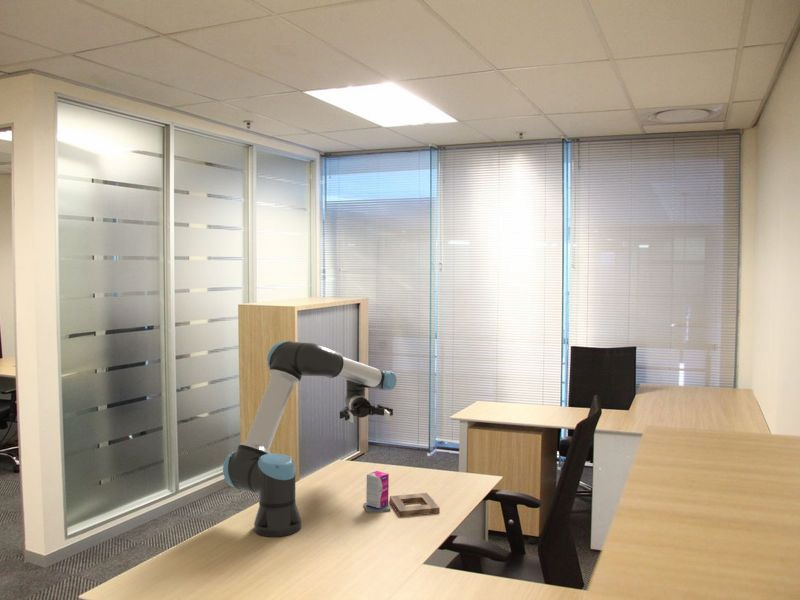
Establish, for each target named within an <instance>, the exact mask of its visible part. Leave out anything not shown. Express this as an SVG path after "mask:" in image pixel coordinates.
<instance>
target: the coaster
mask: <svg viewBox="0 0 800 600" xmlns="http://www.w3.org/2000/svg"><path fill="white" fill-rule="evenodd" d="M363 507H364V509H365V508H366V509H365V511H366V510H367V511H366V513H367V512H368V513H367V514H370V513H369V512H375V513H382V512H381V511H386V512H391V507H390V506H389V504H388V505H387V506H385V507H382V508H380V509H375V508H371V507H367V506H366V502H364V503H363Z"/></svg>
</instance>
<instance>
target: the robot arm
mask: <svg viewBox="0 0 800 600" xmlns="http://www.w3.org/2000/svg"><path fill="white" fill-rule="evenodd" d="M266 359H267V366H268V375H269V376H270V378H269V381H268V384H267V387H266V388H265V391H264V394H263V396H262V398H261V401H260V404H259V406H258V409H257V411H256V413H255V416H254V419H253V421H252V423H251V426H250V428H249V431H248V433H247V437H246V439H245V441H243V442H241V443H239V444H238V446H237V448H236V451H232V452H231V453H229V454H228V455H227V456H226V458H225V460H224V461H223V465H222V466H223V467H222V475H223V476H224V481H225V482H226V484H228V485H229V486H230V487H233V488H236V489H237V490H243V491H247V492H251V493H255V494H258V500H259V501H258V502H259V503H258V504H259V505H258V510H257V513H256V515H255V519H254V523H253V525H254V527H253V529H254V532H255V533H256V534H257V535H260V536H263V537H270V538H271V537H272V538H275V537H285V536H289V535H292V534H295V533H297V532H298V531H300V530H301V529H302V517H301V516H300V513H299V510H298V507H297V504H296V473H297V472H296V467H295V466H296V465H295V461H294V458H292V457H291V456H290V455H287V454H284V453H274V452H273V453H271V451H270V448H271V445H272V443H273V440H274V438H275V435H276V432H277V430H278V427H279V425H280V423H281V420H282V418H283V416H284V411H285V409H286V406H287V404H288V401H289V398H290V397H291V393H292V391H293V389H294V387H295V386H296V385H298V384H300V382H301V379H302V377H303V376H306V377H324V378H325V377H326V378H330V379H333V378H340V379H342V380H346V381H345V382H346V395H345V398H344V401H345V405H346V406H345V407H344V408H343V409H342V410H340V411H339V419H344V421H349V422H350V423H351V424H353V423H354V417H357V418H359V419H360V418H365V417H368V416H374V415H376V416H383V417H384V419H386V420H387V421H391V417H392V416H394V408H392V407H390V406H388V407H387V406H384V405H381V404H376V406H375V405H372V404H371V403H370V401H369V400H368V399H367V398H366V389H374V390H381V391H392V390H394V389H395V387H396V386H397V379H398V378H397V375H396V373H395V372H393V371H389V370H383V369H380V368H378V367H377V368H376V367H373V366H370V365H367V364H365V363H362V362H360V361H357V360H356V361H355V360H353V359H350V358H348V357H345V356H343V355H342V354H341V353H340V352H338V351H336V350H334V349H330V348H328V347H325V346H323V345H320V344H317V343H314V342H313V343H312V342H299V341H298V342H297V341H292V340H287V341H280V342H277V343H275V344H274V345H273V346H272V347H271V348H270V350H269V351H268V354H267V357H266Z"/></svg>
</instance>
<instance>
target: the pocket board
mask: <svg viewBox="0 0 800 600" xmlns="http://www.w3.org/2000/svg"><path fill="white" fill-rule="evenodd" d="M389 502H390V504H391V503H392V504H391V505H392V507H393V506H394V507H393V508H394V509H396V510H395V511H396V513H397V512H398V513H397V514H398V515H400V516H401V517H408V516H410V515H411V516H419V515H420V514H422V515H428V514H427V513H432V514H440V506H439V505H438V504H437V503H436V502H435V501H434V499H433V498H432V497H431V496H430V495H429V493H428V492H422V493H412V494H402V495H401V494H399V495H389ZM416 502H417V503H422V505H421V504H419V505H409V506H406V504H415V503H416ZM405 503H406V504H405ZM417 503H416V504H417ZM400 516H399V517H400Z"/></svg>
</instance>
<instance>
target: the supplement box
mask: <svg viewBox="0 0 800 600" xmlns="http://www.w3.org/2000/svg"><path fill="white" fill-rule="evenodd" d="M389 475H390V474H389V473H386V472H382V471H378V470H375V471H373V472H369V473H368V474H366V490H365V491H366V493H365V494H366V496H365V498H366V499H365V501H366V502H365V503H366V506H367V507H371V508H375V509H380V508H382V507H385V506H387V505H388V506H389V483H390V481H389V479H390V477H389Z"/></svg>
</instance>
